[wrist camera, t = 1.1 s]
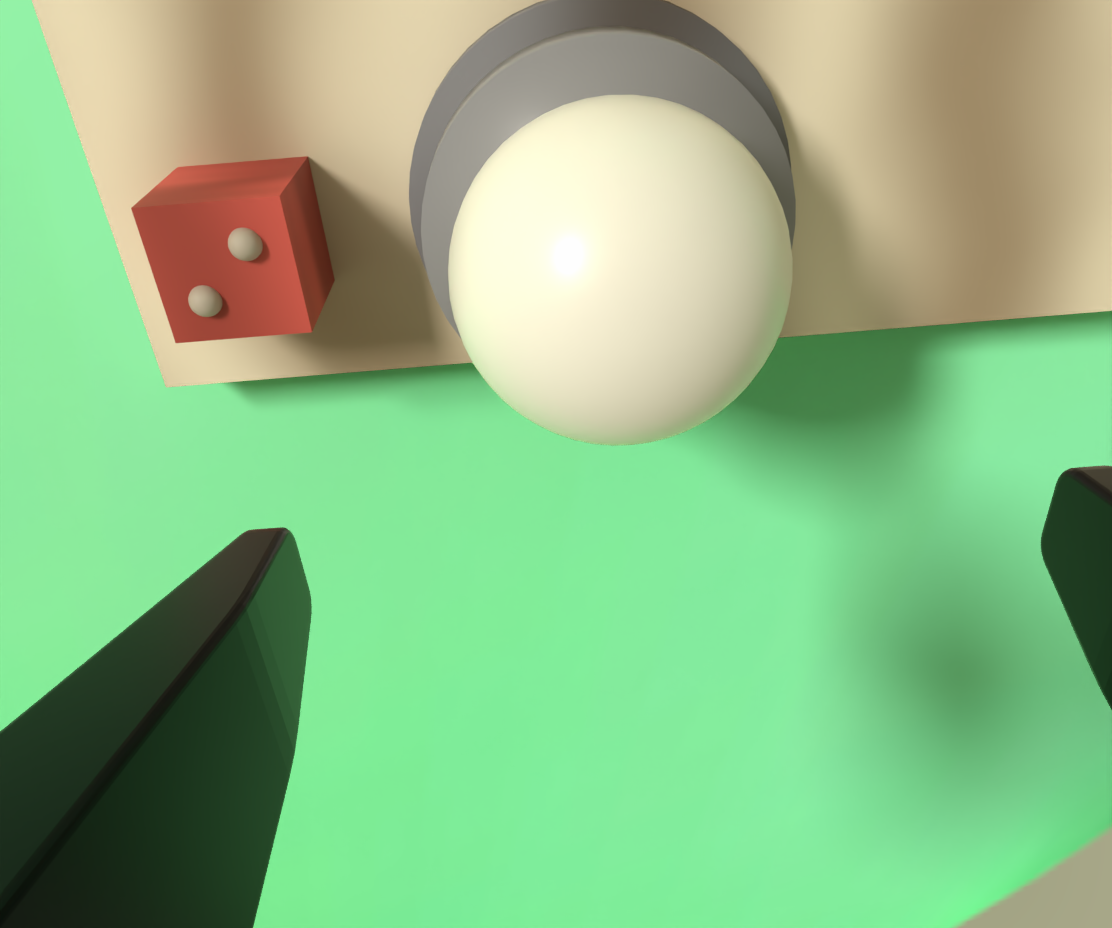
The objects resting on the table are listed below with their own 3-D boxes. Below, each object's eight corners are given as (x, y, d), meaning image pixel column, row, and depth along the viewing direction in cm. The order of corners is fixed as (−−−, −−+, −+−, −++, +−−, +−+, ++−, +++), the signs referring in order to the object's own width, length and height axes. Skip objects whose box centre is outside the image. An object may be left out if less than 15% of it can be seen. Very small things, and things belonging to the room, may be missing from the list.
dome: (794, 10, 16) (915, 71, 11) (771, 366, 19) (853, 525, 15) (397, 43, 16) (347, 118, 11) (451, 391, 19) (430, 559, 15)
